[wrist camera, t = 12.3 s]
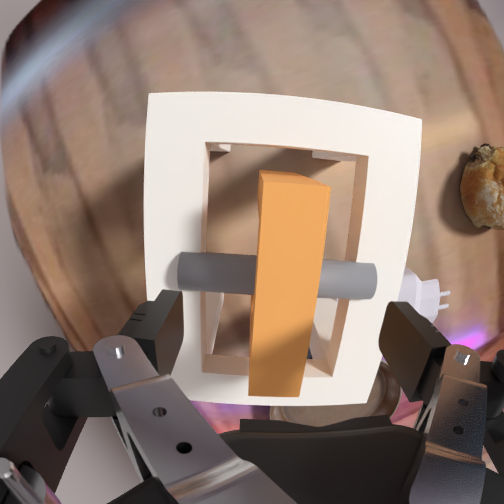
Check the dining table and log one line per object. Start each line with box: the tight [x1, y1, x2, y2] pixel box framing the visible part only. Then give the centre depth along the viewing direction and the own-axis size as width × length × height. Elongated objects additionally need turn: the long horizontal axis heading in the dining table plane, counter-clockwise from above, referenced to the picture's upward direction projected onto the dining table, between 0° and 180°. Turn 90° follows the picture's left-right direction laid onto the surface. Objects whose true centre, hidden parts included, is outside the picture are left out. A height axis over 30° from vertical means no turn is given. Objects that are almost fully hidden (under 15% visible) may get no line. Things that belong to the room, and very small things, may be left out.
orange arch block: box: [248, 170, 331, 397], centre depth 18 cm, size 10×2×10 cm, turn 177°
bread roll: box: [460, 144, 504, 230], centre depth 28 cm, size 10×10×8 cm
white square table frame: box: [144, 92, 422, 406], centre depth 23 cm, size 18×14×17 cm
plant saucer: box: [269, 360, 402, 427], centre depth 37 cm, size 18×18×3 cm
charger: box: [336, 266, 450, 323], centre depth 32 cm, size 5×9×15 cm
